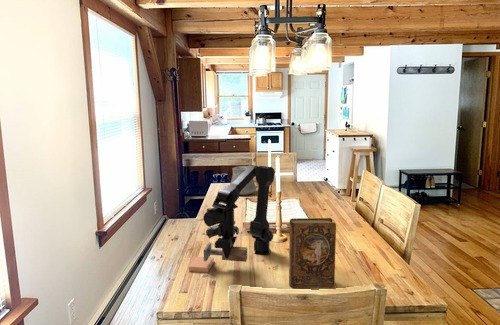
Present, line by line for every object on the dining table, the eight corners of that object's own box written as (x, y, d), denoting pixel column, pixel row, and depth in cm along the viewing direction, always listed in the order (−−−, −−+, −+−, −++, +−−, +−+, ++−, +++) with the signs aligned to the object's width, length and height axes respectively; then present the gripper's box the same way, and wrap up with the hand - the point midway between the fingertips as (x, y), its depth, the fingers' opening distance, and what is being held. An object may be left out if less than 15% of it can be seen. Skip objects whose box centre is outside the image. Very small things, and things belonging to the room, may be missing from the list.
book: (290, 288, 137) (290, 223, 133) (288, 281, 142) (288, 218, 138) (334, 287, 137) (336, 222, 133) (330, 280, 143) (332, 217, 139)
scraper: (248, 256, 156) (248, 245, 155) (244, 264, 148) (245, 252, 147) (209, 253, 159) (208, 242, 158) (203, 261, 151) (203, 249, 150)
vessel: (248, 199, 263) (248, 171, 260) (223, 195, 275) (222, 168, 272) (263, 192, 282) (263, 166, 278) (239, 189, 293) (239, 164, 290)
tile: (213, 257, 160) (196, 256, 161) (207, 267, 150) (188, 266, 151) (214, 262, 160) (196, 261, 161) (207, 273, 150) (188, 271, 151)
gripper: (213, 212, 161) (214, 246, 163) (201, 226, 143) (202, 265, 145) (239, 213, 159) (239, 248, 162) (229, 228, 141) (230, 266, 143)
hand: (227, 256), depth 153 cm, fingers closed on scraper, 3 cm apart
